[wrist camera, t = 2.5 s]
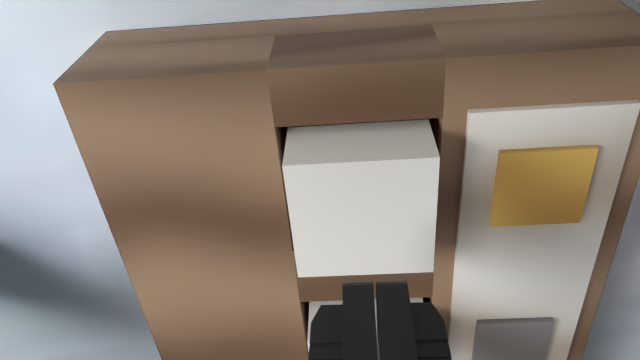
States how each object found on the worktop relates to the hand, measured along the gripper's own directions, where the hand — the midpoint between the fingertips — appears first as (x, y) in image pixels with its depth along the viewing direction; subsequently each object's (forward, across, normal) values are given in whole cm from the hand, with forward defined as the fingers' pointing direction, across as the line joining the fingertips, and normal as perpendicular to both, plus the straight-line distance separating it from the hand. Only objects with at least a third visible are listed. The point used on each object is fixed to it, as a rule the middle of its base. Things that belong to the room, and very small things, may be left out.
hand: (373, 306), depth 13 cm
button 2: (+5, 0, 0) cm, 5 cm away
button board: (+8, 0, +7) cm, 11 cm away
